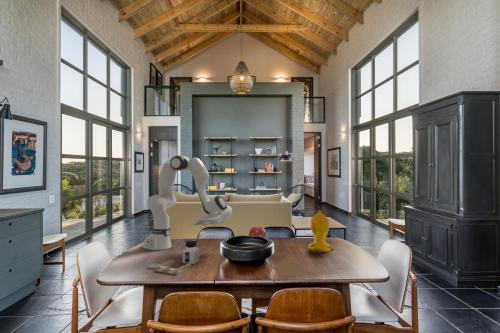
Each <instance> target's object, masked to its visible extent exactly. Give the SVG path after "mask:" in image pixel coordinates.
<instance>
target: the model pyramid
mask: <svg viewBox="0 0 500 333" xmlns="http://www.w3.org/2000/svg"><path fill="white" fill-rule="evenodd" d="M271 269H273V270H274V271H276V272H277V273H278V274H279V275H281V276H282V277H284V278H287V277H294V276H302V275H309V274H311V273H310V271H309V270H308V269H306V268H305V266H304V265H303V264H302V263H300V262H299V260H298V259H297V258H296V257H294V256H293V254H292V253H289V254H288V255H287V256H285V257H284V258H283V259H281V260H280V261H279V262H277V263H275V264H274V265H273V266H271Z"/></svg>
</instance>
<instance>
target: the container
mask: <svg viewBox="0 0 500 333" xmlns="http://www.w3.org/2000/svg"><path fill="white" fill-rule="evenodd" d="M199 260H200V248H199V247H197V240H194V239H189V240H186V241H185V249H183V250H182V263H183V264H189V263H191V265H192V264H193V265H194V264H196V263H197V262H199Z"/></svg>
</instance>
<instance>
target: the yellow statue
mask: <svg viewBox="0 0 500 333" xmlns="http://www.w3.org/2000/svg"><path fill="white" fill-rule="evenodd" d="M310 230H311V232H312V234H313V238H314V240H313V242H311V243H310V244H308V250H310V251H312V252H318V253H327V252H330V251H332V250H334V245H332V246H331V245H330V244H329V243H327V242H326V237H327V235H328V233H329V231H330V219H329V218H328V217H327V216H325V214H324V213H323V212H322V210H320V209H319V210H318V211H317V213H316V214H314V216H312V217H311V219H310Z"/></svg>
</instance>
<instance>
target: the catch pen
mask: <svg viewBox="0 0 500 333" xmlns="http://www.w3.org/2000/svg"><path fill="white" fill-rule="evenodd" d="M160 264H161V263H160ZM174 264H175V263H174V259H171V260H169V261H167V262H164V263H162V264H161V265H159V266H157V269H156V271H157V272H161V273H166V274H170V275H179V274H181V273H183V272H185V271H188V270H189V269H191V268H192V264H191V263H186V264H185V265H182V266H180V267H179V268H172V267H171V266H173V265H174Z"/></svg>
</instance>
